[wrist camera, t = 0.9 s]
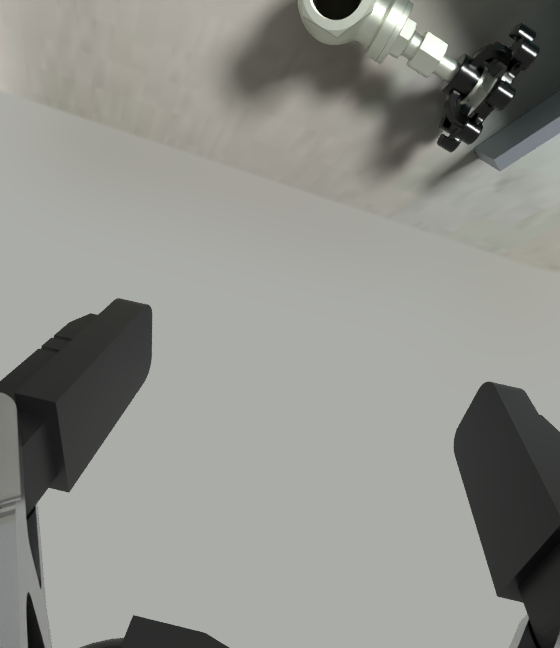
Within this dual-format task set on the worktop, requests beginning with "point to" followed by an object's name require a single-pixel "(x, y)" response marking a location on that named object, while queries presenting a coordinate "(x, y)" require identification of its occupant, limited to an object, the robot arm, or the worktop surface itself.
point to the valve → (432, 60)
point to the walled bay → (522, 134)
